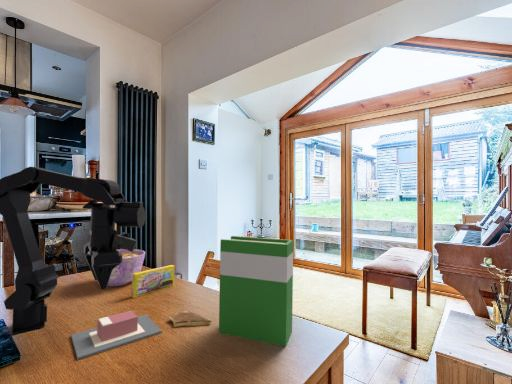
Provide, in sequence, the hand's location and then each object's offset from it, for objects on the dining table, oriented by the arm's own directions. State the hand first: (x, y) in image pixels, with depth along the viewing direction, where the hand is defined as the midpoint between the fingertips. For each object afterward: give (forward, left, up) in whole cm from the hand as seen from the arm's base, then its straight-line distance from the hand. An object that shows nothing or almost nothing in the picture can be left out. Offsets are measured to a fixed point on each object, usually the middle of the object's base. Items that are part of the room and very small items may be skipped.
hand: (100, 284), depth 71 cm
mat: (+3, -8, -11) cm, 14 cm away
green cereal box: (+31, -29, -11) cm, 43 cm away
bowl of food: (+13, +35, -11) cm, 39 cm away
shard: (+21, -11, -12) cm, 27 cm away
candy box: (+21, +17, -12) cm, 29 cm away
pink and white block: (+3, -7, -11) cm, 13 cm away
